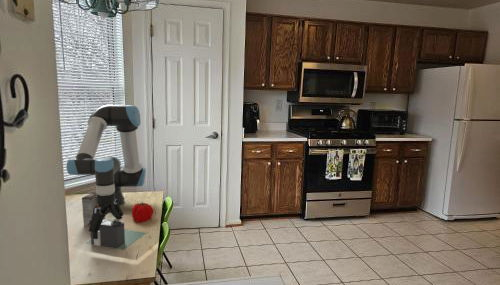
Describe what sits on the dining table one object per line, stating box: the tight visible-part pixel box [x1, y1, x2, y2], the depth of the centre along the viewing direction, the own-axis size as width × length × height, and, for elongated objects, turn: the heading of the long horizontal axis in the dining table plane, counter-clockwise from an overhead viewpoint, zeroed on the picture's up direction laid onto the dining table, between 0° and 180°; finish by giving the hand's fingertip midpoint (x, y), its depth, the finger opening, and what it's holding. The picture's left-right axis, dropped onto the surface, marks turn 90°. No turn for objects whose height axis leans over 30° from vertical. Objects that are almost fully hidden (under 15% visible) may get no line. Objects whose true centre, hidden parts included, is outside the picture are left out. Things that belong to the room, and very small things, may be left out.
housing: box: [90, 219, 125, 249], centre depth 149 cm, size 5×14×10 cm, turn 75°
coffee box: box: [81, 192, 106, 227], centre depth 172 cm, size 9×6×16 cm
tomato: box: [131, 201, 154, 223], centre depth 179 cm, size 11×13×10 cm
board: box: [86, 228, 147, 251], centre depth 156 cm, size 18×20×6 cm
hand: (107, 238), depth 149 cm, fingers open, 13 cm apart
